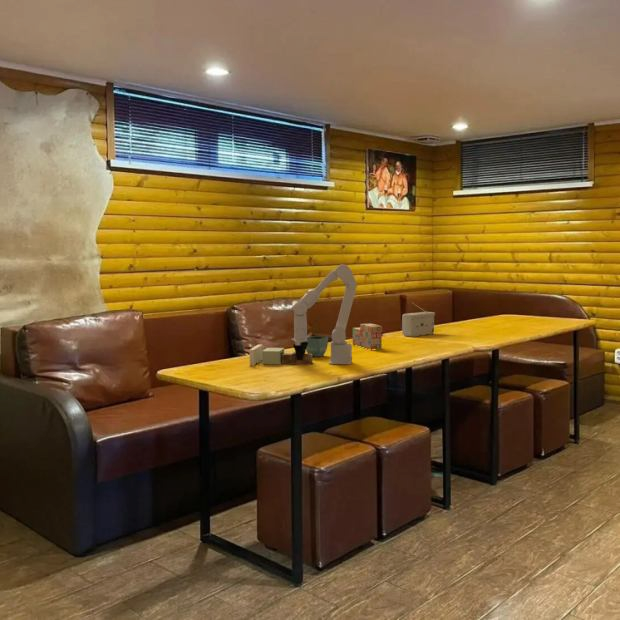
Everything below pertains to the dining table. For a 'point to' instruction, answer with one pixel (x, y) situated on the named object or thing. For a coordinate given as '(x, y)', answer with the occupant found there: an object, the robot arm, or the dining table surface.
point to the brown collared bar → (292, 358)
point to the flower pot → (317, 345)
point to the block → (272, 355)
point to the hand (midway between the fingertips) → (300, 359)
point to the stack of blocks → (368, 336)
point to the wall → (255, 354)
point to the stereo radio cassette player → (418, 323)
